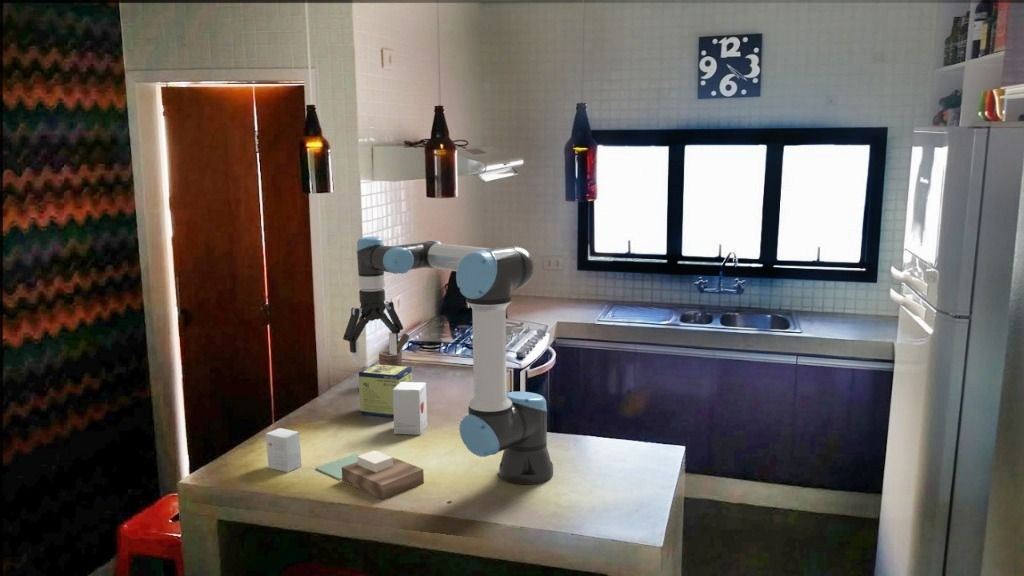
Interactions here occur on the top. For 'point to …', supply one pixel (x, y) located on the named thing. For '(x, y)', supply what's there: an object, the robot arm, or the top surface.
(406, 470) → the plate
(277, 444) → the small box
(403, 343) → the mortar and pestle
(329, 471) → the mat
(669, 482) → the top surface
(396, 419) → the supplement box
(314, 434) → the top surface
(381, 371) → the protein box
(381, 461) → the tile
